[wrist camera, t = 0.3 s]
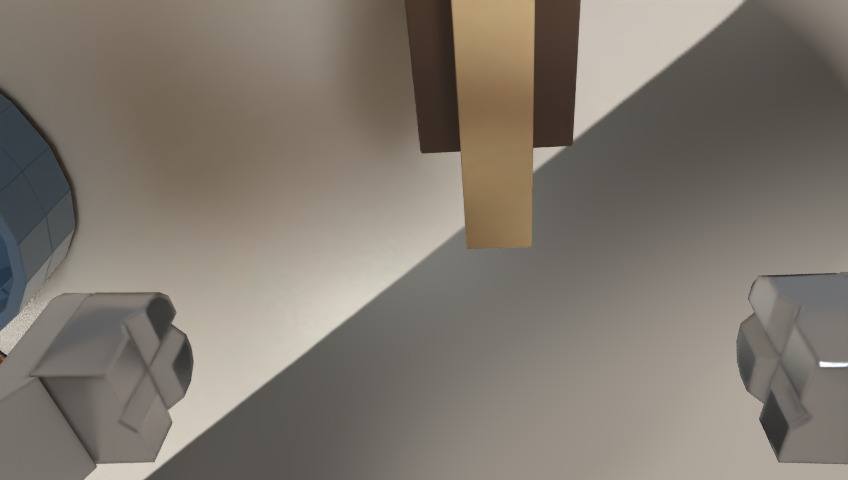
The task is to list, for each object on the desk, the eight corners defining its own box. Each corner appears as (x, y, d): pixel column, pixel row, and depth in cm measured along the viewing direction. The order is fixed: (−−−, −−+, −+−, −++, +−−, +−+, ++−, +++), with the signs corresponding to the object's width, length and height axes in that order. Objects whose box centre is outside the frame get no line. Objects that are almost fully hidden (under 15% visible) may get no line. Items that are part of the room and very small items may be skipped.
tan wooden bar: (442, -167, 16) (440, -162, 15) (532, -177, 16) (537, -172, 14) (467, 225, 23) (466, 249, 22) (528, 223, 23) (532, 247, 22)
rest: (425, -108, 27) (400, -35, 18) (543, -119, 27) (583, -50, 17) (436, 32, 31) (420, 154, 21) (540, 24, 30) (572, 146, 21)
